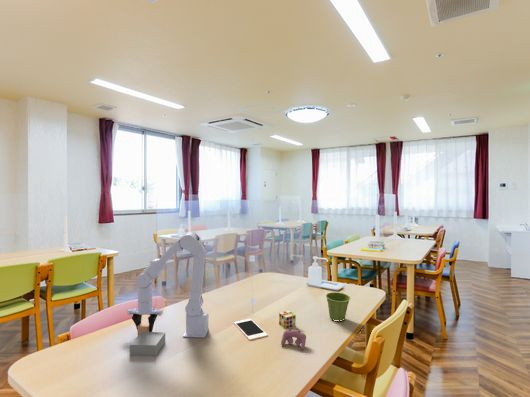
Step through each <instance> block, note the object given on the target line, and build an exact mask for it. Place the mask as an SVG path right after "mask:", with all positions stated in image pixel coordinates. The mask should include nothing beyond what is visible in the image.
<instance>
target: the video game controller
mask: <svg viewBox="0 0 530 397" xmlns="http://www.w3.org/2000/svg"><path fill="white" fill-rule="evenodd" d="M293 338H294V339H295V338H296V339H295V340H294V339H293ZM306 341H307V335H306V334H305V333H304V332H302V331H300V330H299V329H292V328H291V329H290V328H289V329H285V331H284V332H283V334H282V337H281V342H280V345H282V346H281V347H284V346H285V344H286V342H287V343H288V344H289V345H292V344H293V343H294V344H295V345H296V346H298V345H299V346H300V348H301V350H302V349H305V346H306ZM283 345H284V346H283Z"/></svg>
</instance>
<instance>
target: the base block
mask: <svg viewBox="0 0 530 397" xmlns="http://www.w3.org/2000/svg"><path fill="white" fill-rule="evenodd" d="M165 343H166V332H158V331H152V332H141V333H140V334H139V335H138V334H137V335H136V337H135V338H134V339H133V340H132V341H131V343H130V344H129V356H150V357H151V356H153V357H154V356H158V353H159V352H160V350H161V349H162V348H163V346H164V345H165Z"/></svg>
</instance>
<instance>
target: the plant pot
mask: <svg viewBox="0 0 530 397" xmlns="http://www.w3.org/2000/svg"><path fill="white" fill-rule="evenodd" d="M325 298H326V302H327V305H328V314H329V319H330V318H331V319H334V320H343V319H345V320H346V315H347V310H348V306H349V302H350V300H351V296H350V295H348V294H346V293H344V292H336V291H333V292H332V291H331V292H327V293H326V294H325ZM331 319H330V320H331Z"/></svg>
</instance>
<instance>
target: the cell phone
mask: <svg viewBox="0 0 530 397" xmlns="http://www.w3.org/2000/svg"><path fill="white" fill-rule="evenodd" d="M233 324H234V325H235V327H236V328H237V329H238V330H239V331H240V332H241V334H242V335H244V336H245V338H247V340H248V341H254V340H258V339H262V338H267V337H268V333H267V332H266V331H265V330H264V329H262V327H260V326H259V325H258V324H257V323H256V322H255V321H254V320H253V319H251V318H247V319H242V320H238V321H237V320H236V321H234V322H233Z"/></svg>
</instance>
